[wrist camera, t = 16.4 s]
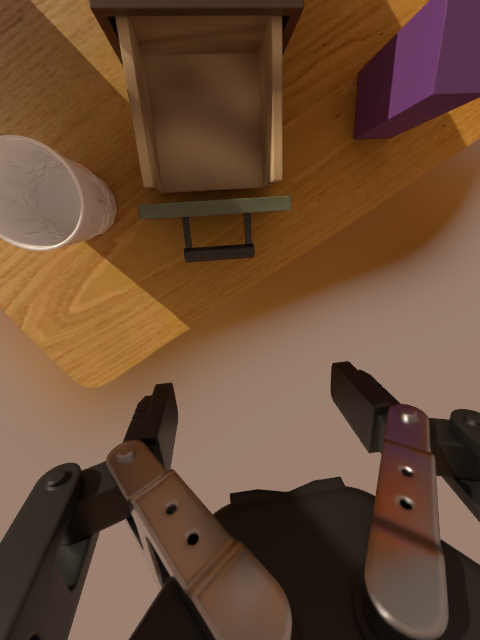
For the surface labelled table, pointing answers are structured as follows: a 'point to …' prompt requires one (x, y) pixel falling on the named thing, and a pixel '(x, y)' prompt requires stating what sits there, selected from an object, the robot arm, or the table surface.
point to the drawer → (206, 115)
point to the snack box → (421, 70)
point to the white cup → (49, 197)
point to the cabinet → (194, 12)
